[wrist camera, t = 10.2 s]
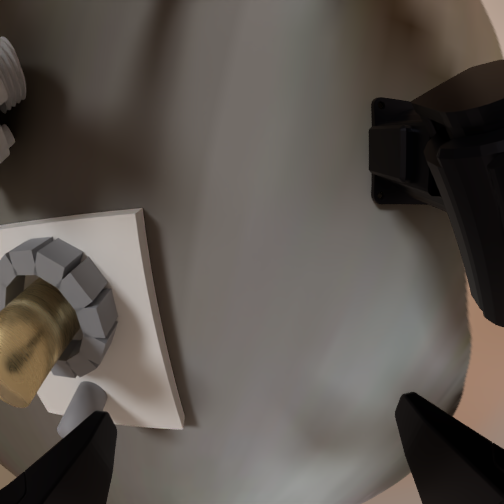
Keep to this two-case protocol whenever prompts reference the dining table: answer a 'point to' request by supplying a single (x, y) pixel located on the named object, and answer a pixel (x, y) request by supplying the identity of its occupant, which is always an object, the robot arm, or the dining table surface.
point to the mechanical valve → (9, 91)
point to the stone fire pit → (98, 316)
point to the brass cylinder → (33, 340)
